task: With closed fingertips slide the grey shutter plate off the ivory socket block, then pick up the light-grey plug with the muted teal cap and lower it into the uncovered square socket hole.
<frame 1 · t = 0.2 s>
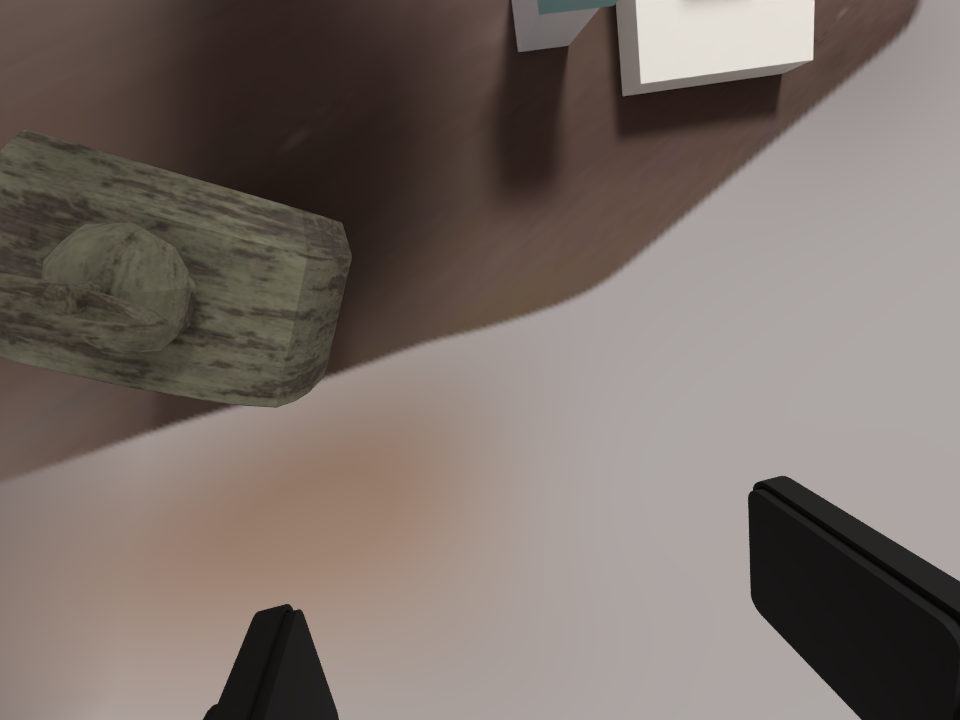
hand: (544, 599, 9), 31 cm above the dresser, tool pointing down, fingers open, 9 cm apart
plug: (540, 18, 35), on the dresser
tabletop clock: (264, 262, 36), on the dresser
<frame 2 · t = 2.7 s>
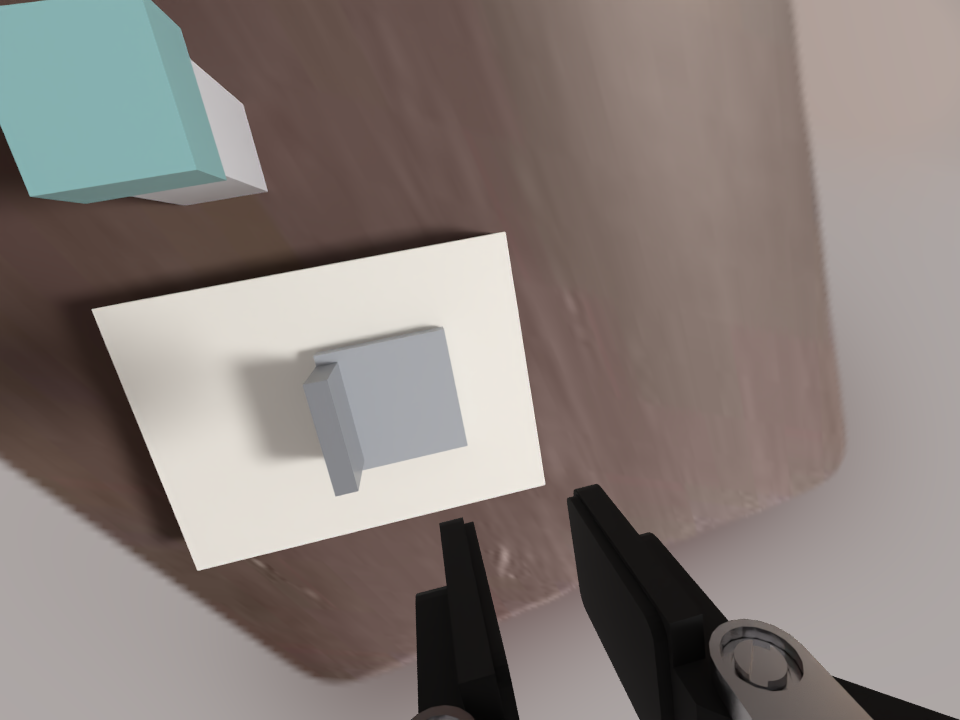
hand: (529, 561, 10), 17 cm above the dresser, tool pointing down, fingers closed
socket: (396, 380, 27), on the dresser
plug: (213, 155, 23), on the dresser
shutter: (393, 410, 22), point 5 cm above the dresser, slide at 0.0 cm
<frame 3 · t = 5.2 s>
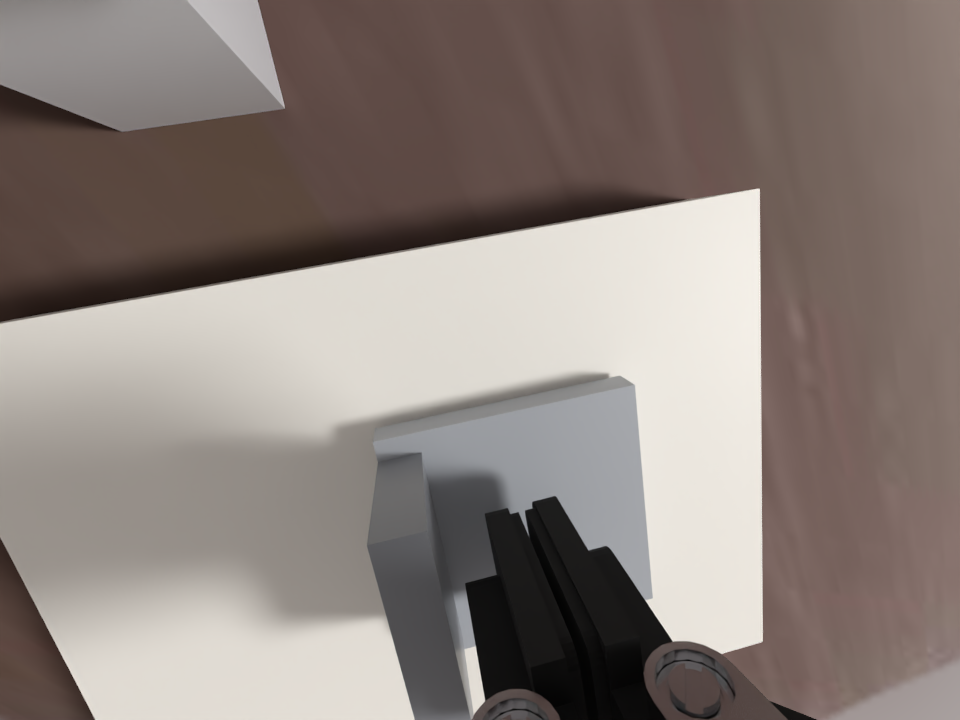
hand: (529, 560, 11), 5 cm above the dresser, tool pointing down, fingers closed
socket: (501, 455, 15), on the dresser
plug: (178, 30, 11), on the dresser
shutter: (538, 556, 10), point 5 cm above the dresser, slide at 0.2 cm, touching gripper
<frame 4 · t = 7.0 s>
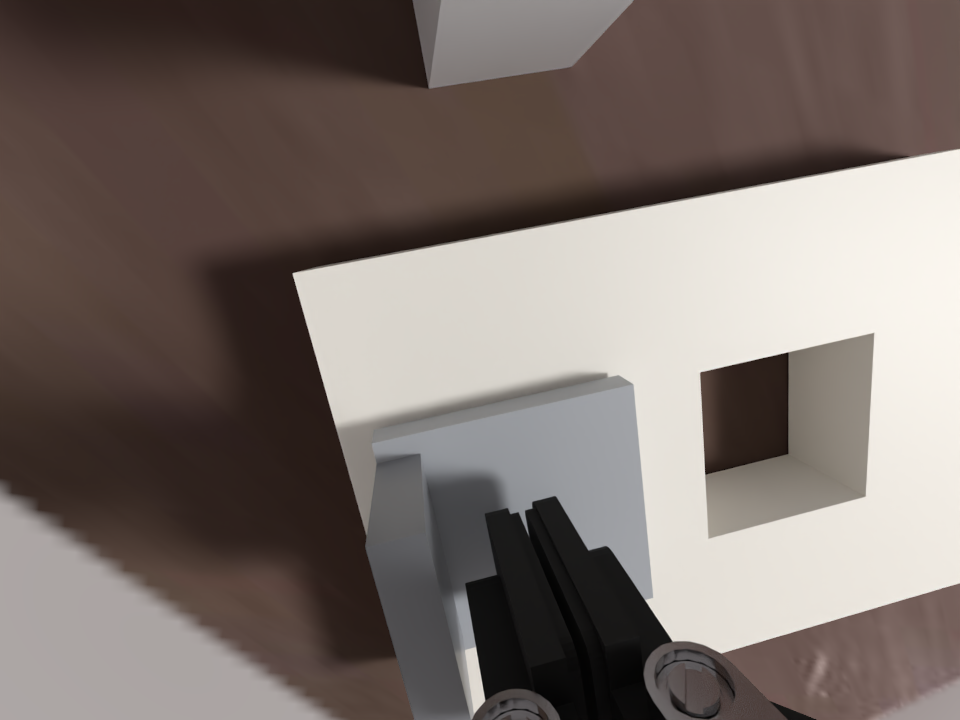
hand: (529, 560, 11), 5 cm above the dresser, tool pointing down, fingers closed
socket: (720, 404, 16), on the dresser
shutter: (538, 557, 10), point 5 cm above the dresser, slide at 8.0 cm, touching gripper
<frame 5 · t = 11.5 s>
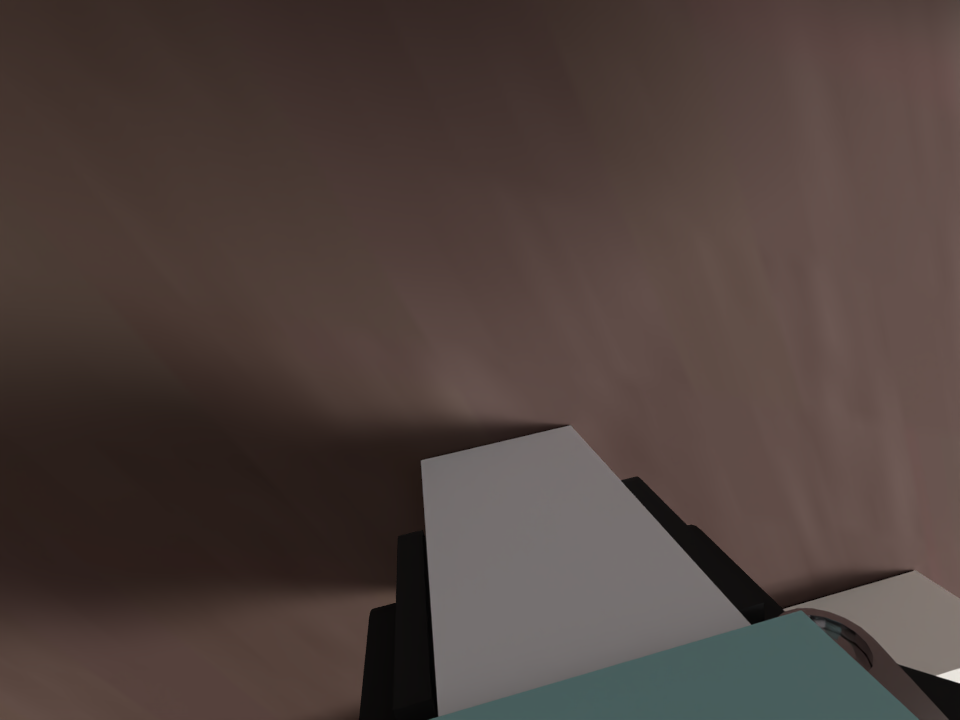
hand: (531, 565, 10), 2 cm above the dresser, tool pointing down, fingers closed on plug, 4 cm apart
plug: (509, 509, 13), on the dresser, touching gripper
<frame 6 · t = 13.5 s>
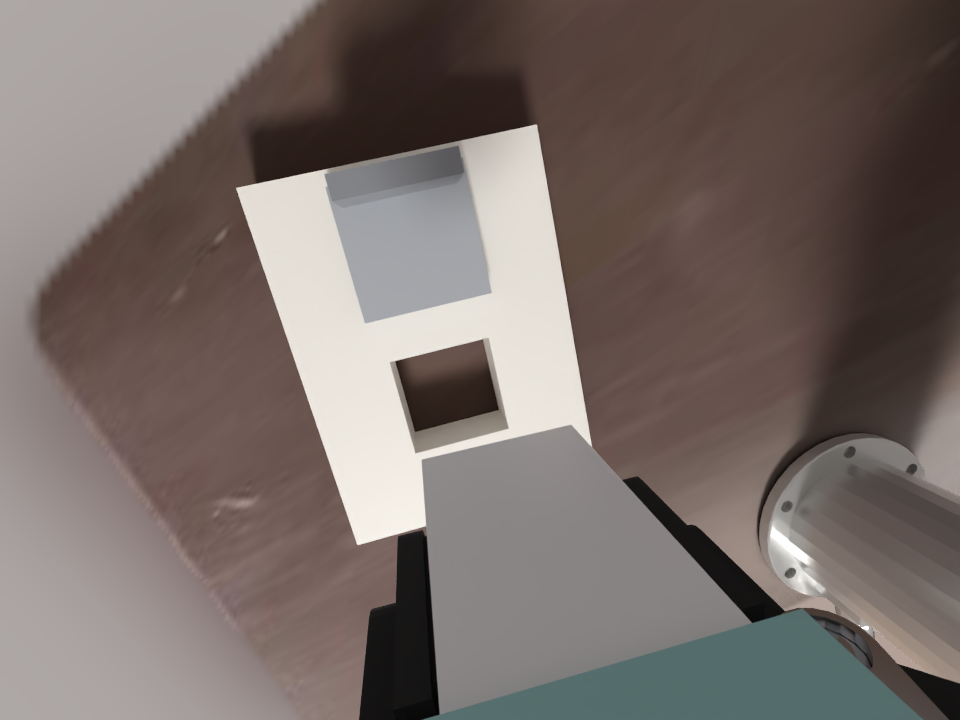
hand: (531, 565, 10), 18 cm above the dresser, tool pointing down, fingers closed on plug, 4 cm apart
socket: (447, 380, 27), on the dresser
plug: (509, 508, 13), point 15 cm above the dresser, touching gripper
shutter: (412, 242, 20), point 5 cm above the dresser, slide at 8.0 cm
when the fingers open (4 cm above the dresser, at t = 15.8 s): plug drops 1 cm, resting in socket.
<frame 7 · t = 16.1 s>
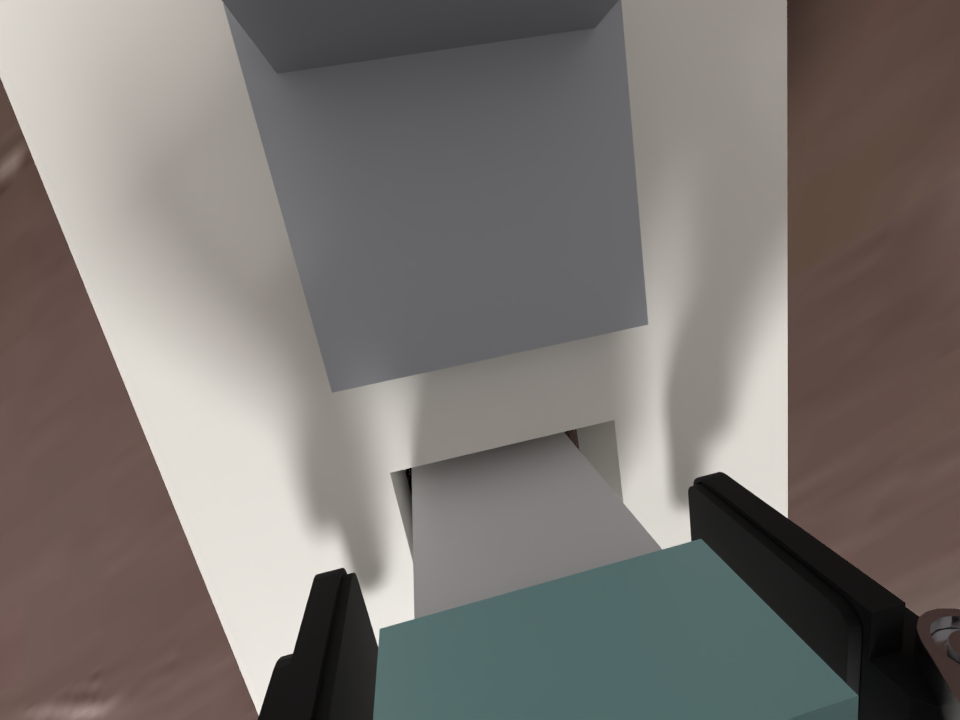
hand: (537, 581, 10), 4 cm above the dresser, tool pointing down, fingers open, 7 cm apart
socket: (498, 481, 14), on the dresser
plug: (491, 485, 14), resting in socket
shutter: (474, 178, 7), point 5 cm above the dresser, slide at 8.0 cm
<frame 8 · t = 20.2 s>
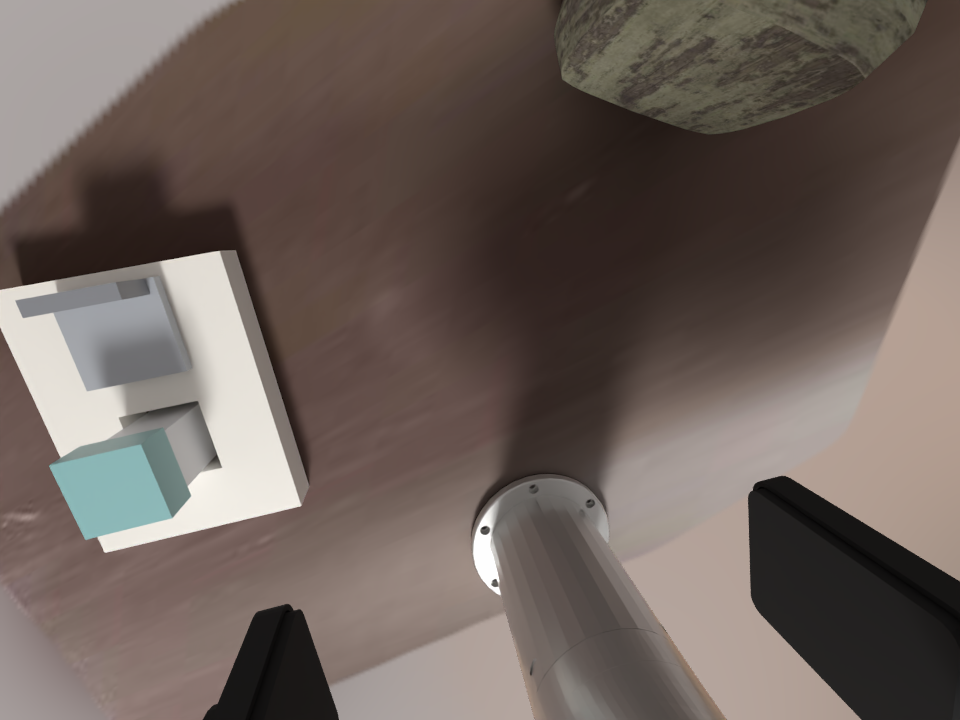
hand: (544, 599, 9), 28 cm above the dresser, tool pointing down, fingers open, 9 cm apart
socket: (190, 427, 35), on the dresser
plug: (188, 428, 35), resting in socket
shutter: (108, 338, 28), point 5 cm above the dresser, slide at 8.0 cm
tabletop clock: (623, 63, 34), on the dresser
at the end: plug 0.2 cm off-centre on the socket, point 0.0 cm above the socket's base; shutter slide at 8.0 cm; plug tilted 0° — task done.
